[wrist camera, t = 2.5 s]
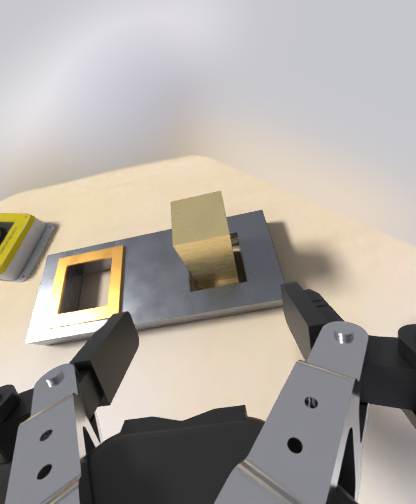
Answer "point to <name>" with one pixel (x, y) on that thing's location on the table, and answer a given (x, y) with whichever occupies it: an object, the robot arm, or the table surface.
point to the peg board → (152, 284)
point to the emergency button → (21, 244)
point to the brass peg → (204, 239)
